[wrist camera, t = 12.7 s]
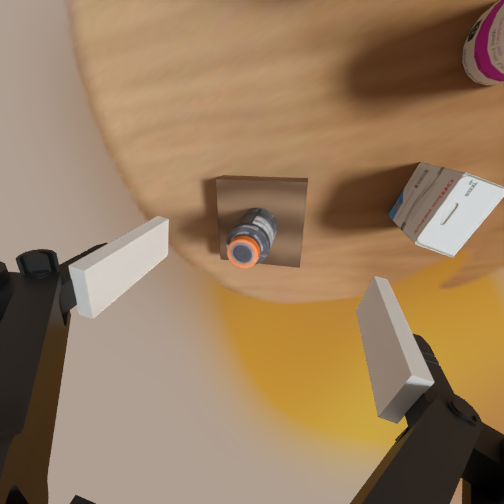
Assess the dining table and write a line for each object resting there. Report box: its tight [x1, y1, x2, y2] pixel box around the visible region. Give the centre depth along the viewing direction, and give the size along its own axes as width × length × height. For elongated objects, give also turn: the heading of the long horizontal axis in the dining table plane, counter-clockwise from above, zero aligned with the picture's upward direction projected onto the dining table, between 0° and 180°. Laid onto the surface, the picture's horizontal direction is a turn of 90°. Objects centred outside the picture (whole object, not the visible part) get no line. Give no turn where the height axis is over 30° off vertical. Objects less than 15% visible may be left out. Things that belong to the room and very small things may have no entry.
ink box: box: [388, 162, 504, 257], centre depth 31 cm, size 8×5×12 cm, turn 162°
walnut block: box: [216, 176, 308, 268], centre depth 42 cm, size 14×14×4 cm
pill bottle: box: [226, 208, 277, 268], centre depth 35 cm, size 6×6×11 cm
